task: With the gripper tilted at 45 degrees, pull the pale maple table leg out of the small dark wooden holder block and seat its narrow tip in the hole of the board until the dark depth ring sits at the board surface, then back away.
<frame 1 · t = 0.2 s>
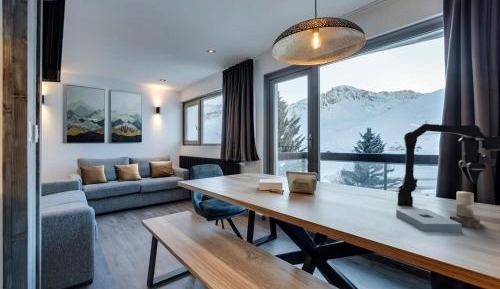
hand: (471, 181, 121), 14 cm above the table, tool pointing down, fingers open, 9 cm apart
leg: (464, 208, 103), in the holder
holder: (464, 223, 104), on the table
board: (425, 222, 104), on the table
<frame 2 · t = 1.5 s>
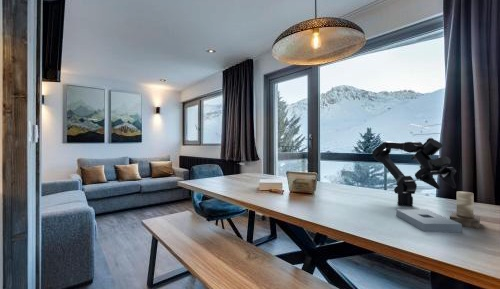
hand: (447, 188, 111), 13 cm above the table, tool tilted 45°, fingers open, 9 cm apart
nothing on the table moved.
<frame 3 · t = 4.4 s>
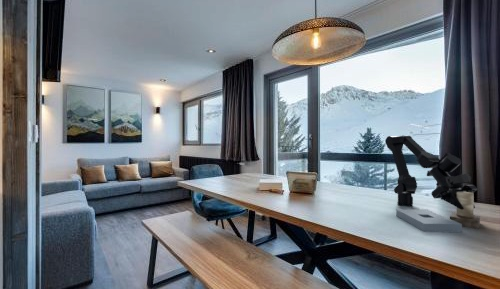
hand: (468, 208, 102), 7 cm above the table, tool tilted 45°, fingers closed on leg, 5 cm apart
leg: (464, 208, 103), in the holder, touching gripper
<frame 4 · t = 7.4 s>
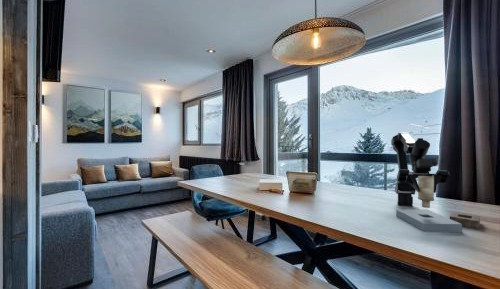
hand: (427, 192, 103), 13 cm above the table, tool tilted 45°, fingers closed on leg, 5 cm apart
leg: (425, 191, 104), point 13 cm above the table, touching gripper
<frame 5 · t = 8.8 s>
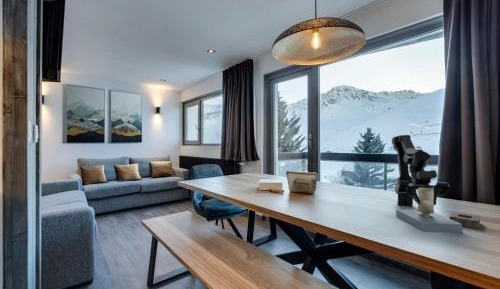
hand: (426, 204, 103), 8 cm above the table, tool tilted 45°, fingers closed on leg, 5 cm apart
leg: (425, 203, 104), point 8 cm above the table, touching gripper
when the fingers open (7 cm above the table, at t = 10.4 s): leg stays where it is, resting in board.
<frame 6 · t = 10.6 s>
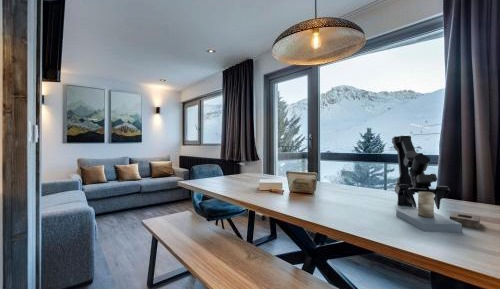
hand: (427, 208, 103), 7 cm above the table, tool tilted 45°, fingers open, 8 cm apart
leg: (425, 207, 104), in the board
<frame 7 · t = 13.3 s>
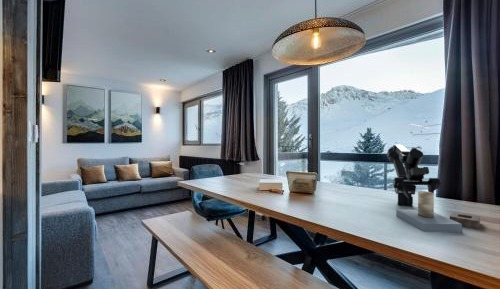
hand: (420, 198, 112), 9 cm above the table, tool tilted 45°, fingers open, 9 cm apart
nothing on the table moved.
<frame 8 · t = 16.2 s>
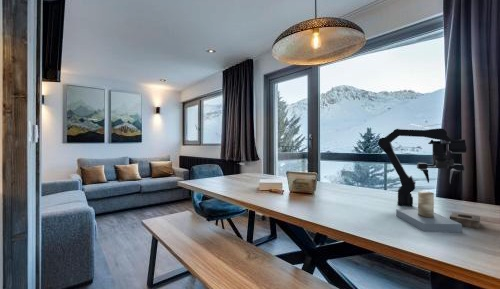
hand: (439, 183, 126), 13 cm above the table, tool pointing down, fingers open, 9 cm apart
nothing on the table moved.
at the end: leg 0.0 cm off-centre on the board, point 6.5 cm above the board's base; leg tilted 0°; the gripper is holding nothing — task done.
